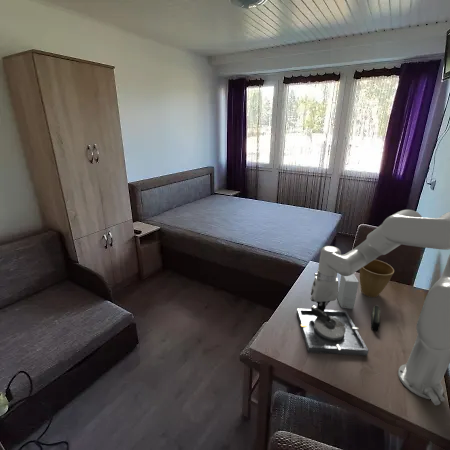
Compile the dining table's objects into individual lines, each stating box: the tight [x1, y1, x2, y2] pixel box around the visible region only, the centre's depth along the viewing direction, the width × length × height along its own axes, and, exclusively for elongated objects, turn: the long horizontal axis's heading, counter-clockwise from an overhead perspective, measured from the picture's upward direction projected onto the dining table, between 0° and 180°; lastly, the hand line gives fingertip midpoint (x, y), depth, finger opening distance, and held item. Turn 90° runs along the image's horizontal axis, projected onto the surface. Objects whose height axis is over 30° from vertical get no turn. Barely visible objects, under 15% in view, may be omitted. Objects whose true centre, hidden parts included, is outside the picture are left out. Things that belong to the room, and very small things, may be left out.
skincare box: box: [336, 273, 360, 310], centre depth 126 cm, size 8×6×15 cm
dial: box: [310, 305, 346, 341], centre depth 110 cm, size 16×12×6 cm
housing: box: [296, 308, 370, 356], centre depth 110 cm, size 23×23×3 cm
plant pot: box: [359, 259, 395, 298], centre depth 133 cm, size 15×15×16 cm
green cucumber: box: [370, 304, 381, 332], centre depth 117 cm, size 5×3×15 cm
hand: (320, 311), depth 116 cm, fingers closed
